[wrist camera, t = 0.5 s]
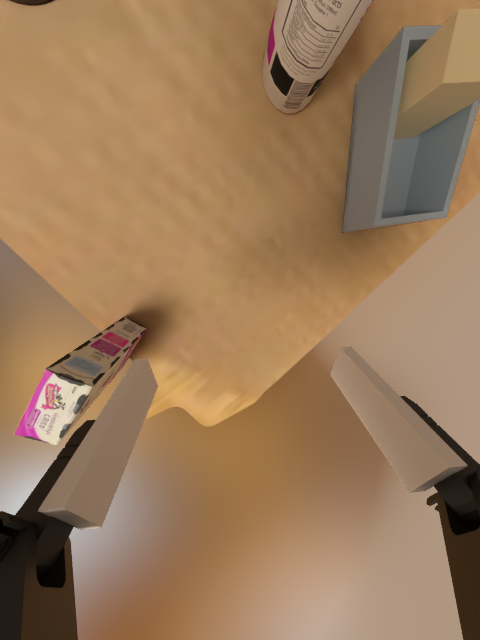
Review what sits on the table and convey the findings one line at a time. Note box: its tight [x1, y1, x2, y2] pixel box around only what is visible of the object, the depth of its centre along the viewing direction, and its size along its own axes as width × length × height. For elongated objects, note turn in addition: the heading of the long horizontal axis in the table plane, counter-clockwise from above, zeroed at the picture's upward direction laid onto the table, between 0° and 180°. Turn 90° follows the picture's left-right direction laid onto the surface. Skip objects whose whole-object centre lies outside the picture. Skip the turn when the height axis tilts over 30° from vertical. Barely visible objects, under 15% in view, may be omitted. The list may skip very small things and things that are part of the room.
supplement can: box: [262, 0, 373, 113], centre depth 17 cm, size 8×8×15 cm
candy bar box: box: [14, 317, 147, 445], centre depth 27 cm, size 11×5×16 cm, turn 143°
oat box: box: [394, 9, 480, 139], centre depth 22 cm, size 5×9×10 cm, turn 97°
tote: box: [342, 26, 480, 233], centre depth 26 cm, size 20×13×7 cm, turn 7°
